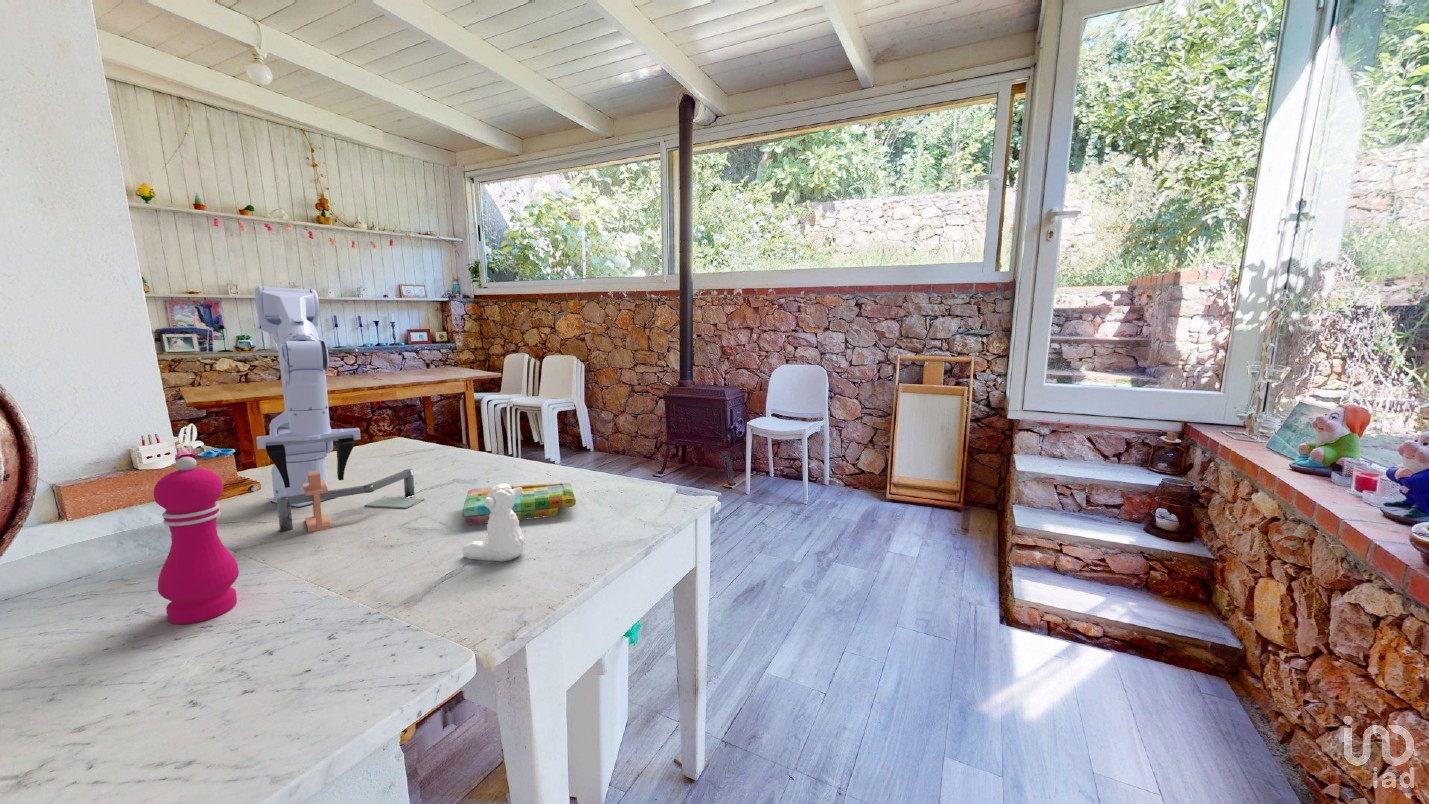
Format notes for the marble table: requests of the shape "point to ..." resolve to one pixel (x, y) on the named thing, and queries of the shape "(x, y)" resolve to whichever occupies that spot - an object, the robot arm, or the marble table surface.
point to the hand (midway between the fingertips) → (314, 482)
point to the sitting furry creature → (499, 528)
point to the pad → (393, 502)
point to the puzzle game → (522, 502)
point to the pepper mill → (194, 546)
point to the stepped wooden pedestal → (316, 502)
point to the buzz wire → (340, 495)
